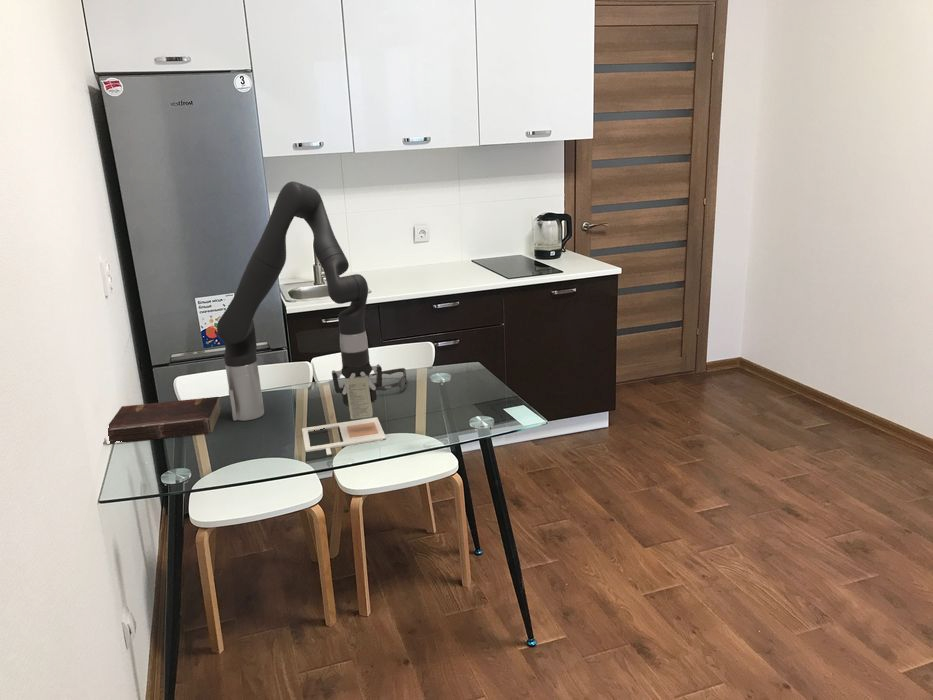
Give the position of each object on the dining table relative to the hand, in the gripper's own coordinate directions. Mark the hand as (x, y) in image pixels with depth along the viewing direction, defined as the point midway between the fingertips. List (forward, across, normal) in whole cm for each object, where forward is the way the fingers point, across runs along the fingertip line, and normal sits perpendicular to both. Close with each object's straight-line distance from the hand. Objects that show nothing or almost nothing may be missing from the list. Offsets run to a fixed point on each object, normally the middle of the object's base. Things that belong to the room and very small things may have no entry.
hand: (360, 403), depth 210 cm
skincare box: (+4, 0, 0) cm, 4 cm away
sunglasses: (+9, +11, +34) cm, 37 cm away
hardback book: (+9, -56, +27) cm, 62 cm away
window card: (+9, -6, -2) cm, 11 cm away
